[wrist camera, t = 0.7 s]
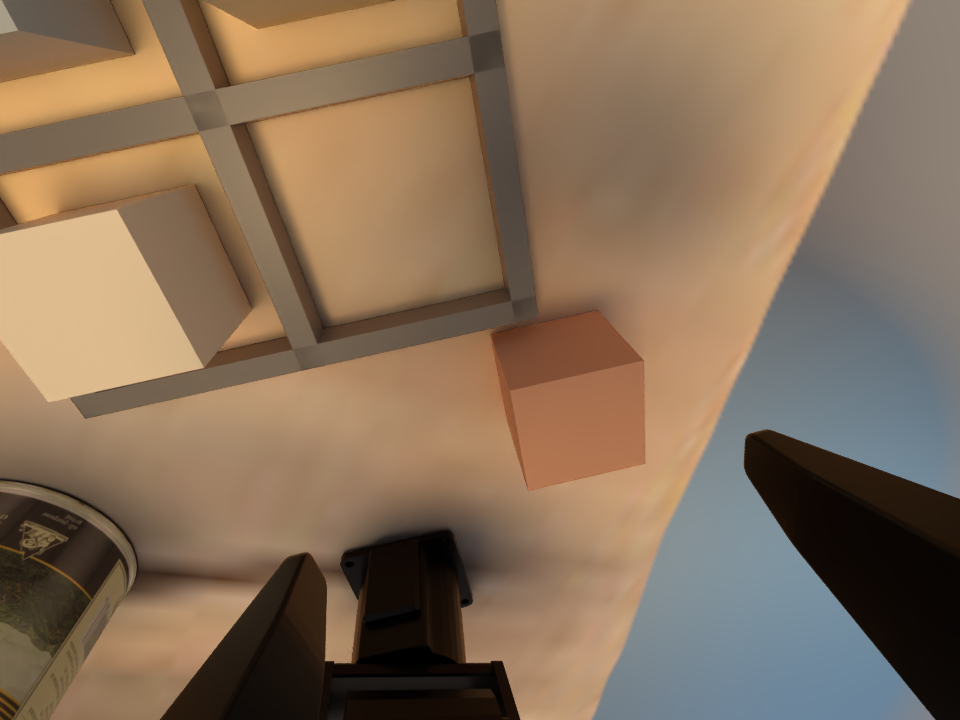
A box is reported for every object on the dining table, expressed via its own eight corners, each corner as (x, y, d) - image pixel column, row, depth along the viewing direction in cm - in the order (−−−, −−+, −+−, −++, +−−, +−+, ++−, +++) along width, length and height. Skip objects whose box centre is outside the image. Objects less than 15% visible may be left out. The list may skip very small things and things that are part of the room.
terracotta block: (602, 399, 24) (645, 463, 19) (506, 420, 24) (528, 490, 19) (596, 309, 21) (643, 360, 17) (490, 333, 21) (510, 390, 17)
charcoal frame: (530, 304, 21) (561, 356, 16) (106, 399, 20) (21, 478, 16) (431, -397, 12) (440, -709, 7) (-344, -248, 11) (-834, -481, 7)
